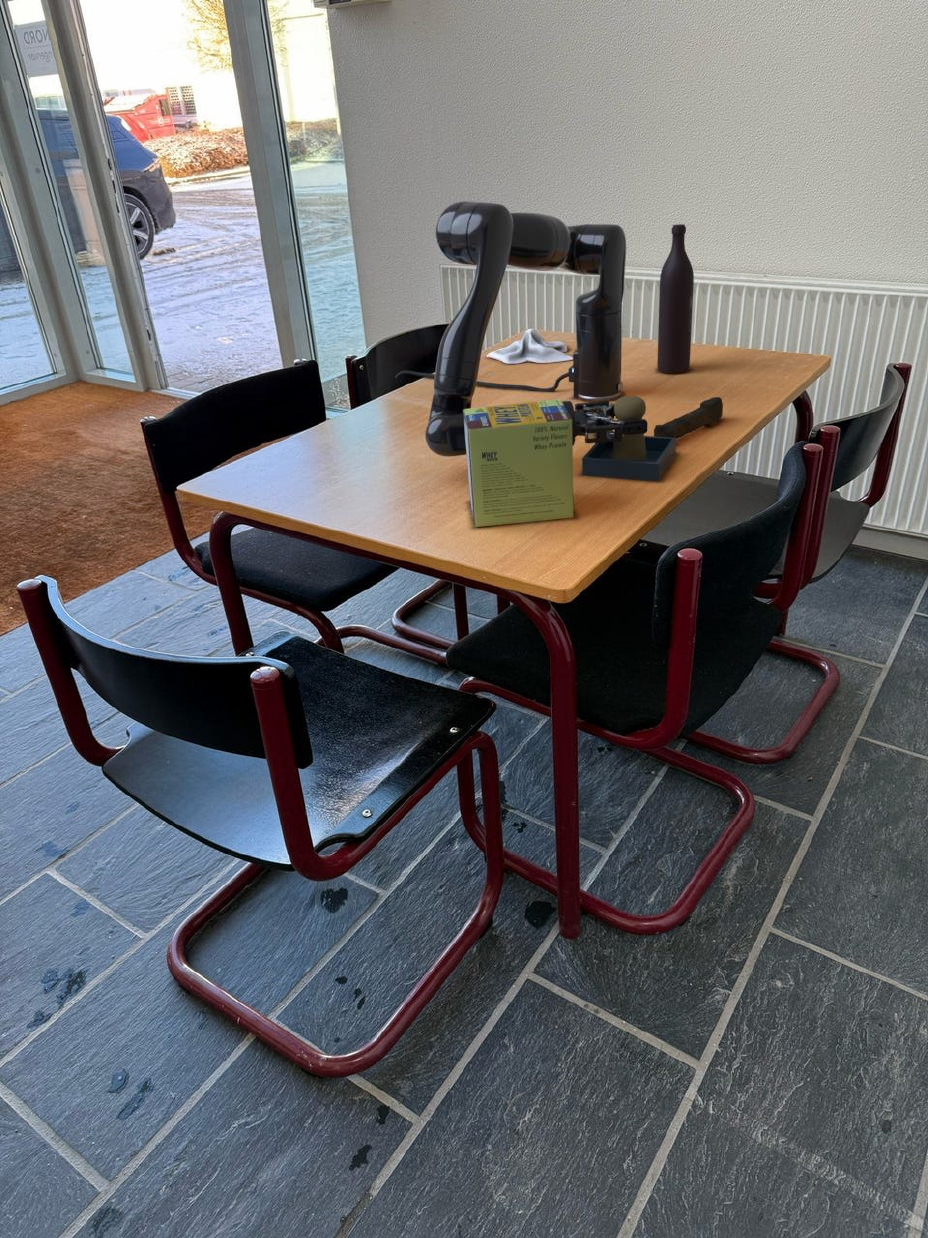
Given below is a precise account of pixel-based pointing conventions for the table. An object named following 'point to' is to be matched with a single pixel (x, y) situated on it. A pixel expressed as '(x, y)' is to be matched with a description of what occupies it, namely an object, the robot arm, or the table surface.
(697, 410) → the rusty railroad spike
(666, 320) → the wine bottle
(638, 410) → the cork
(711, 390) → the table surface
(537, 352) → the cloth
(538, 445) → the protein box
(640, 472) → the caddy
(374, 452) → the table surface
